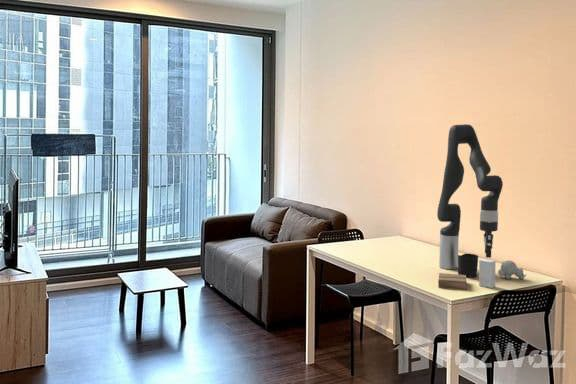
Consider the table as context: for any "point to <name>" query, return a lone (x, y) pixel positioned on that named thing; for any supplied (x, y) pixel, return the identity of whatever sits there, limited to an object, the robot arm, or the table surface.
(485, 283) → the skincare box
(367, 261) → the table surface
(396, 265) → the table surface
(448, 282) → the walnut block
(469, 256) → the pen holder
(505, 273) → the round bodied animal figurine
